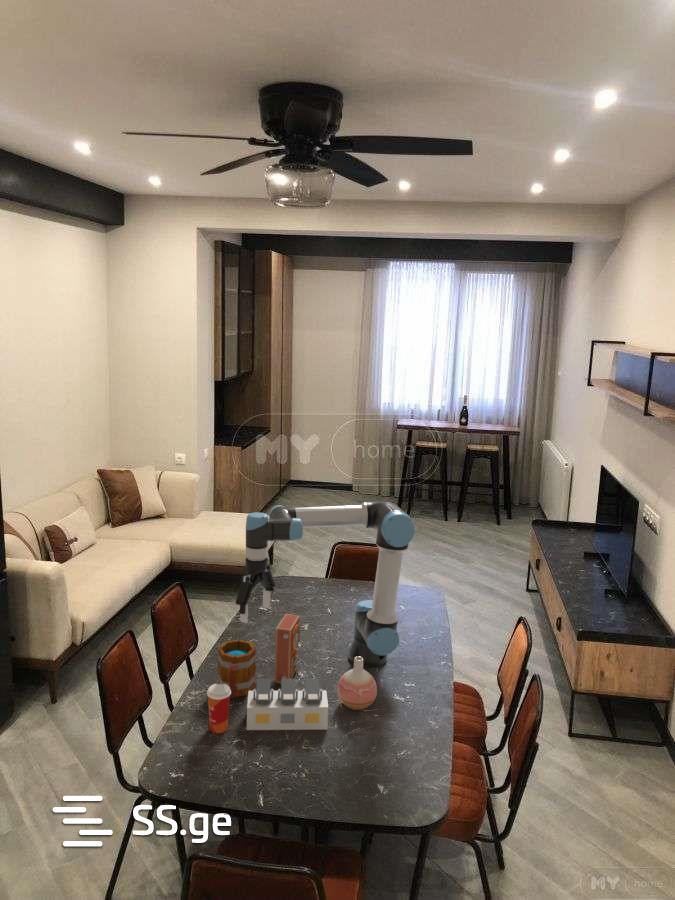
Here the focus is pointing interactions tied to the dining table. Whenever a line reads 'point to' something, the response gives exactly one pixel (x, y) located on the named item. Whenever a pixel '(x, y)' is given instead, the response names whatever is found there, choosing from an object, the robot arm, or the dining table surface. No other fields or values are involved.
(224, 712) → the paper cup
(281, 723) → the console
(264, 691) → the rocker
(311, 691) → the rocker
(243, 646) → the mug
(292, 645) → the control panel
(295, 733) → the dining table surface
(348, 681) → the vase
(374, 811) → the dining table surface
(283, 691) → the rocker
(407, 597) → the dining table surface
